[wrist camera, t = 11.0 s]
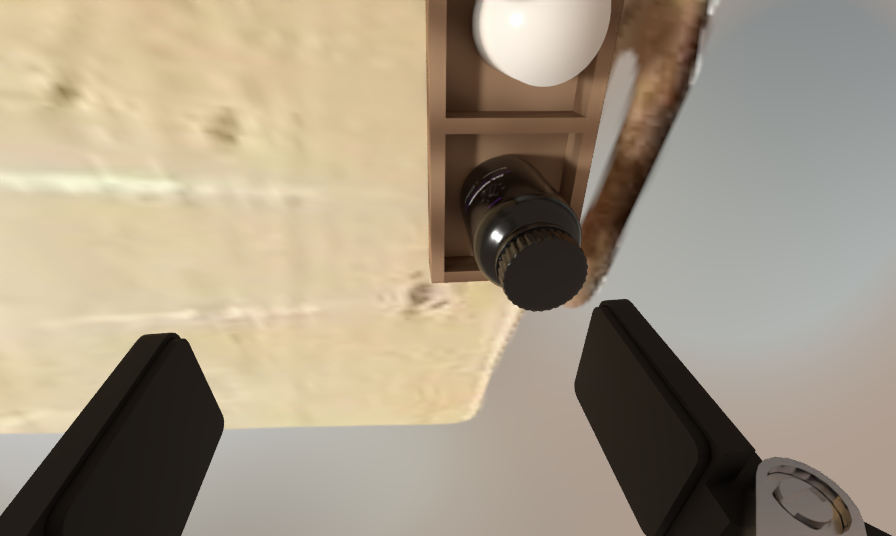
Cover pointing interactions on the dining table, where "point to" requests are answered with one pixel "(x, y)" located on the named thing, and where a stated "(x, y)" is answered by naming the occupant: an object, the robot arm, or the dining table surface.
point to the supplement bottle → (523, 233)
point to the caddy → (499, 127)
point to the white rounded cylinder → (539, 37)
